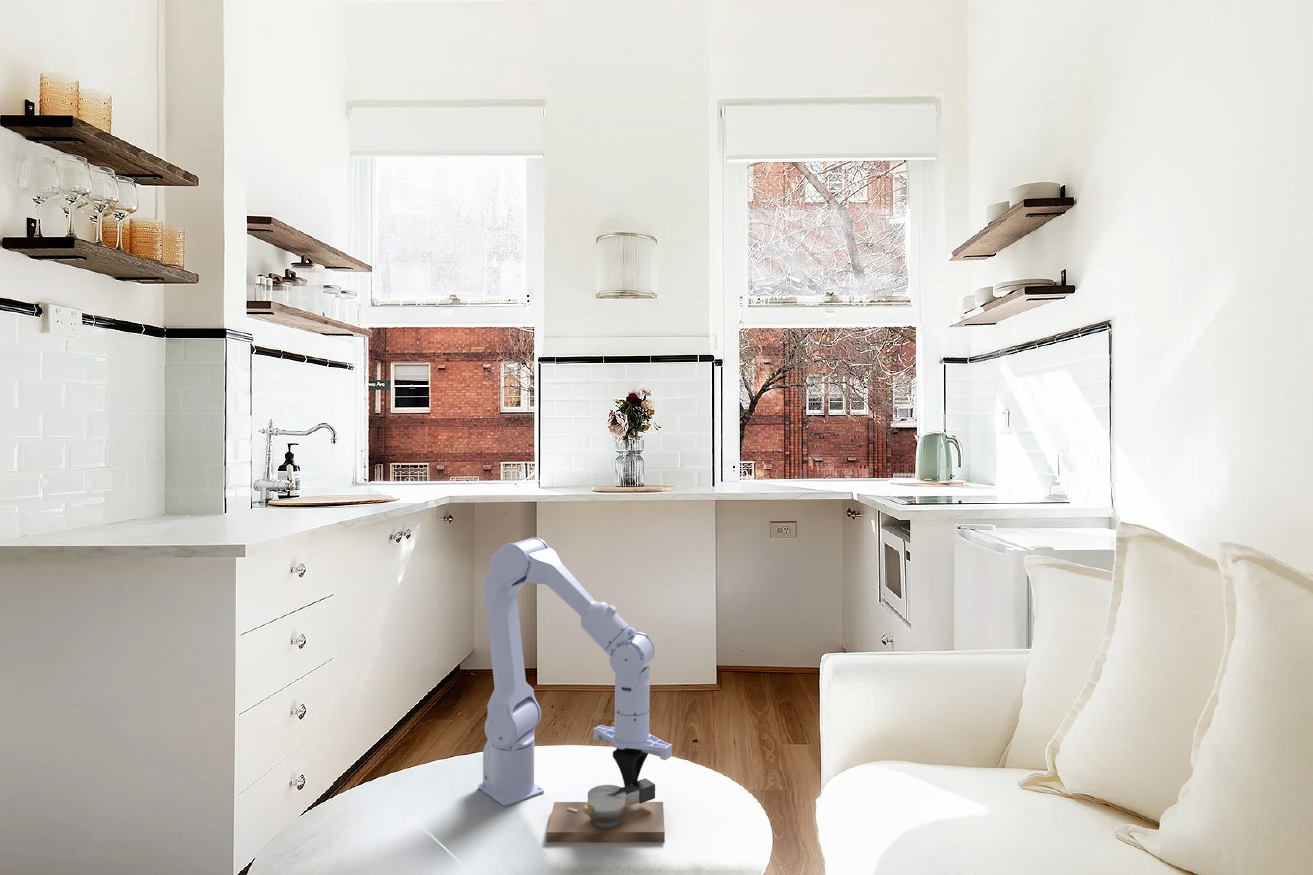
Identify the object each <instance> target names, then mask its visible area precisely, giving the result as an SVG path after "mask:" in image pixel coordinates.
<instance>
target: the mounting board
mask: <svg viewBox="0 0 1313 875" xmlns="http://www.w3.org/2000/svg"><path fill="white" fill-rule="evenodd" d="M585 805H588V801H554V802H553V806H552V810H551V813H550V819H549V823H548V826H547V830H546V843H630V842H631V843H643V842H645V843H646V842H647V843H652V842H653V843H654V842H655V843H658V842H659V843H660V842H661V843H664V842H665V836H666V835H665V832H666V831H665V817H664V816H665V815H664V814H665V812H664V810H665V809H664V801H646V802H643V803H641V804H640V803H636V804H633V805H631V806H628V807H626V814H625V816H624V817H623V818H621V819H619V820H617V821H613V822H599V821H595V820H593V819H591V818H590V817H589V816H588V815H585V814H584V813H583V806H585Z"/></svg>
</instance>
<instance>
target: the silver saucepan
mask: <svg viewBox="0 0 1313 875" xmlns="http://www.w3.org/2000/svg"><path fill="white" fill-rule="evenodd" d="M654 799H656V783H653V782H652V781H651V780H649V779H647V778H646V777H645V778H642V779H638V781H636V782H633V783H631V785H628V786H625V785H624V786H622V787H621V786H618V785H616V784H615V785H613V784H601V785H596V786H594V787H592V788H590V789H589V790H588V792H587V802H588V805H585V806H583V813H584V814H585V815H588V816H589V817H590V818H591V819H593V820H595V821H599V822H613V821H617V820H619V819H621V818H623V817H624V816H625V814H626V807H628V806H631V805H633V804H636V803H640V804H641V803H643V802H650V801H652V800H654Z"/></svg>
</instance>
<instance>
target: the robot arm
mask: <svg viewBox="0 0 1313 875" xmlns="http://www.w3.org/2000/svg"><path fill="white" fill-rule="evenodd" d="M489 563H490V567H489V570H488V573H487V576H486V579H485V581H484V585H483V593H484V601H485V602H484V604H485V612H486V621H487V622H486V623H487V629H488V640H489V648H490V656H491V657H490V658H491V667H492V668H491V669H492V675H493V686H494V689H493V691H492V694H491V696H490V698H489V700H488V702H487V705H486V707H487V708H486V709H487V716H486V719H485V722H484V733H485V737H486V739H487V741H486V742H485V744H484V747H483V750H482V783H481V782H480V783H479V784H478V786H477V788H478V789H480V790H481V791H482V792H483V793H485V794H487V795H488V796H489V797H490V798H492V799H493V800H494V801H496V802H497V803H499V804H500V805H502V806H503V807H509V806H511V805H514V804H516V803H520V802H522V801H525V800H528V799H530V798H533V797H537V796H539V795H541V794H543V793H544V792H545V789H544V788H542V787H541V786H540V785H538V784H536V783H535V728H537V727H538V725H539V724H540V722H541V718H542V710H541V707H540V704H539V702H538V701H537V699H536V696H535V690H534V688H533V687H532V686H531V685H530V684H529V683H528V682H527V681H526V670H525V662H524V652H523V650H524V649H523V642H522V632H521V625H520V624H521V623H520V616H519V605H518V599H517V598H518V597H517V594H518V592H519V591H520V589H522V588H523V586H524V585H525V584H526V583H528V584H535V585H536V584H537V585H538V584H539V585H545V586H547V587H548V588H549V589H551V590H552V591H553V592H554V593H555V594H556V595H557V596H559V598H561V600H562V601H564V602H565V603H566V604H567V605H568V606H569V607H570V608H572V610H574V611H575V613H577V614H578V615H579V617H580V627H581V628H582V630H584V631H585V632H586V634H588V635H589V637H591V639H592V640H593V641H594V642H595V643H596V644H597V645H598V646H599V647H600V648H601V649H602V650H603V651H604V653H605V654H607V655H608V656H609V657H608V659H609V665H610V667H611V669H612V670H613V672H614V674H615V676H614V677H615V680H614V683H615V684H614V726H606V725H602V724H599V725H597V726H596V727H593V734H592V737H593V740H594V741H597V742H598V741H605V742H608V743H611V744H613V748H615V750H613V751H612V758H613V759H614V762H615V763H616V765H617V767H618V769H619V772H620V774H621V777H622V781H623V785H624V787H625V786H628V785H631V783H633V782H636V781H639V777H640V773H641V771H642V768H643V765H644V763H645V761H646V758H647V757H648V755H649V754H650V755H653V756H656V757H659V759H660V760H663V761H666V760H668V759H670V758H671V757H672V756H673V744H671V743H668V742H666V741H663V740H661V739H660V738H659V737H656V736H654V735H652V734H651V733H650V693H651V692H650V687H651V686H650V666H649V665H650V663H651V662H652V661H653V659H654V656H655V646H654V644H653V642H652V640H651V639H650V637H649V635H647V634H646V633H644V632H640V631H637V630H636V629H635V627H634V626H632V627H631V626H630V625H629V624H628V623H627V622H626V621H625V620H624V619H623V618H622V617H621V616H620V615H619V614H618V613H617V611H618V608H617V607H616V606H615V605H614V604H611V605H610V604H608V603H607V602H605V601H595V599H593V597H592V596H591V595H590V594H589V593H588V591H587V590H585V588H584V587H583V586H582V585H581V583H579V581H578V580H577V579H576V577H574V575H573V574H572V573H571V572H570V570H568V569H567V567H566V566H565V565H564V564H563V563H562V562H561V560H560V558H559V556H558V554H557V552H556V551H555V549H553V548H551V547H549V545H548V544H547V543H546V541H544V540H543V539H542V538H539V537H536V536H534V537H533V536H532V537H529V538H525V539H524V540H523V539H522V540H520V541H516V542H513V543H511V542H510V543H506V544H503V545H501V546H500V547H499V548H498V549H497V550H496V551H495V552H494V553H493V554H492V555H491V556H490V557H489Z"/></svg>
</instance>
